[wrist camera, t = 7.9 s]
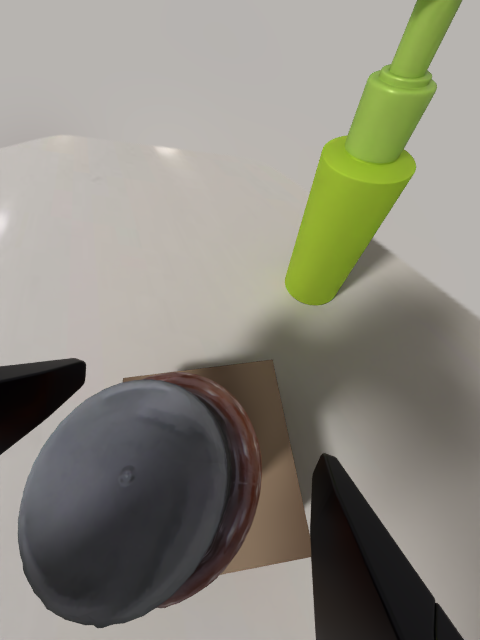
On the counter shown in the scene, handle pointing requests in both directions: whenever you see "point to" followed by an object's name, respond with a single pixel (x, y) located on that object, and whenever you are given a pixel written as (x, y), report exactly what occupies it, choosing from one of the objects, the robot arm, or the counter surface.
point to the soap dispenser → (367, 161)
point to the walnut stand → (265, 468)
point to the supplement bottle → (139, 498)
